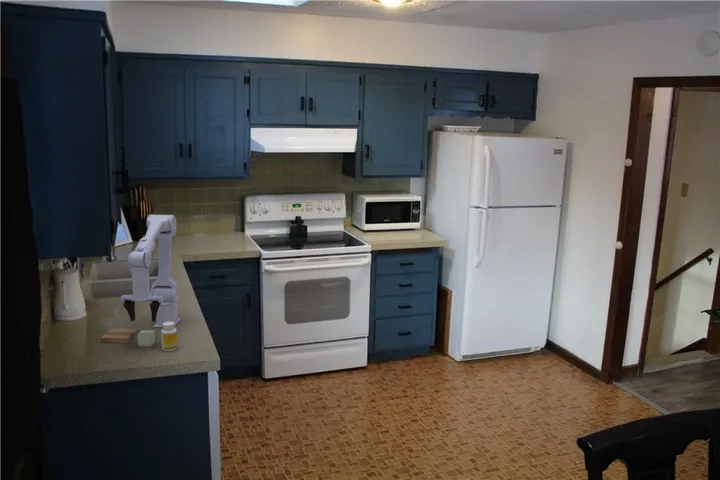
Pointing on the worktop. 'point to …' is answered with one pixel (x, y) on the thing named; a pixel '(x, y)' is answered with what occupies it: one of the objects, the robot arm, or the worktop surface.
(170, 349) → the supplement bottle
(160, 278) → the robot arm
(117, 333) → the brown square pad
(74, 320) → the worktop surface
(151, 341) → the sage block
